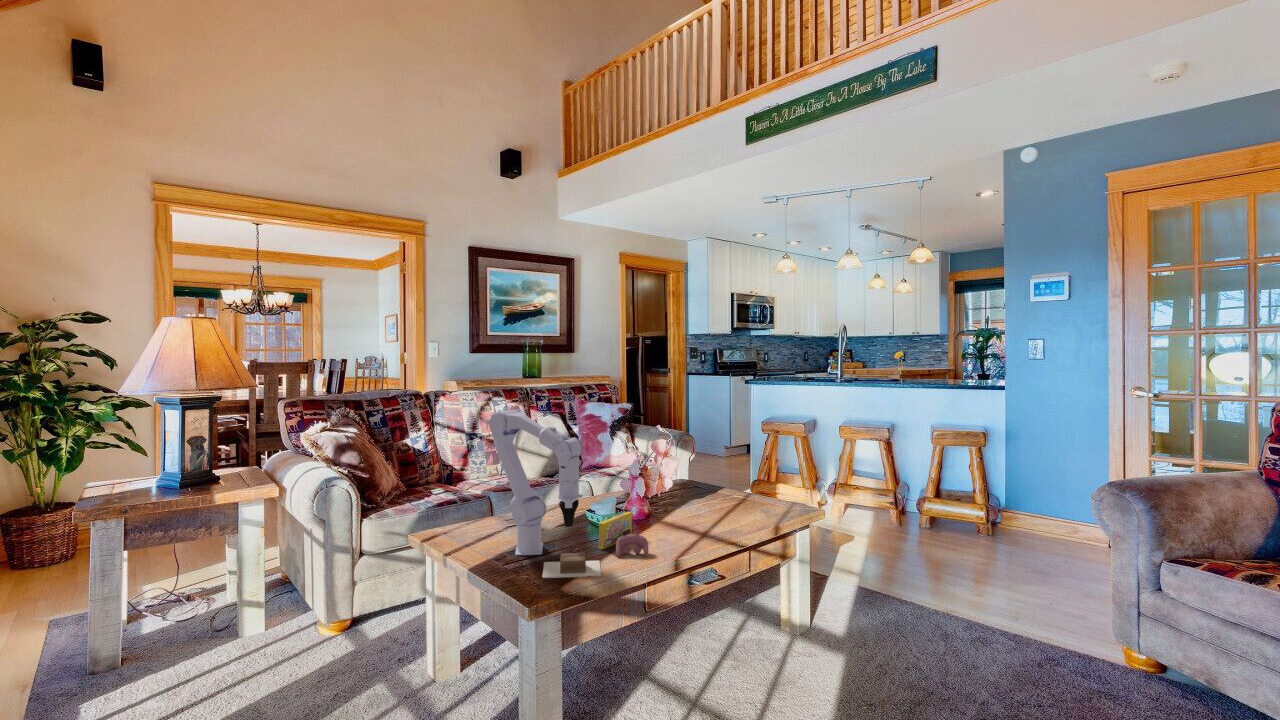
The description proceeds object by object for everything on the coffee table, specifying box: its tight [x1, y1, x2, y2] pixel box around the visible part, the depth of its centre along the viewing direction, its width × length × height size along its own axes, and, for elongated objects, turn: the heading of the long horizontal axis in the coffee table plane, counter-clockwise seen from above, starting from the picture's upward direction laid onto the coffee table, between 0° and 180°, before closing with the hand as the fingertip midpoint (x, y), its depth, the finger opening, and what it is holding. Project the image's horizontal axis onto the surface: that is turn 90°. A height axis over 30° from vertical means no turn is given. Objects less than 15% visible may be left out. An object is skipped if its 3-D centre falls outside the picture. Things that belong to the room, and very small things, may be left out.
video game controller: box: [615, 533, 649, 558], centre depth 186 cm, size 10×5×7 cm, turn 93°
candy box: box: [597, 511, 633, 550], centre depth 197 cm, size 16×2×8 cm, turn 147°
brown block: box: [559, 552, 587, 574], centre depth 172 cm, size 4×7×6 cm
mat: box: [541, 560, 602, 579], centre depth 173 cm, size 11×16×1 cm
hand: (568, 526), depth 179 cm, fingers closed
